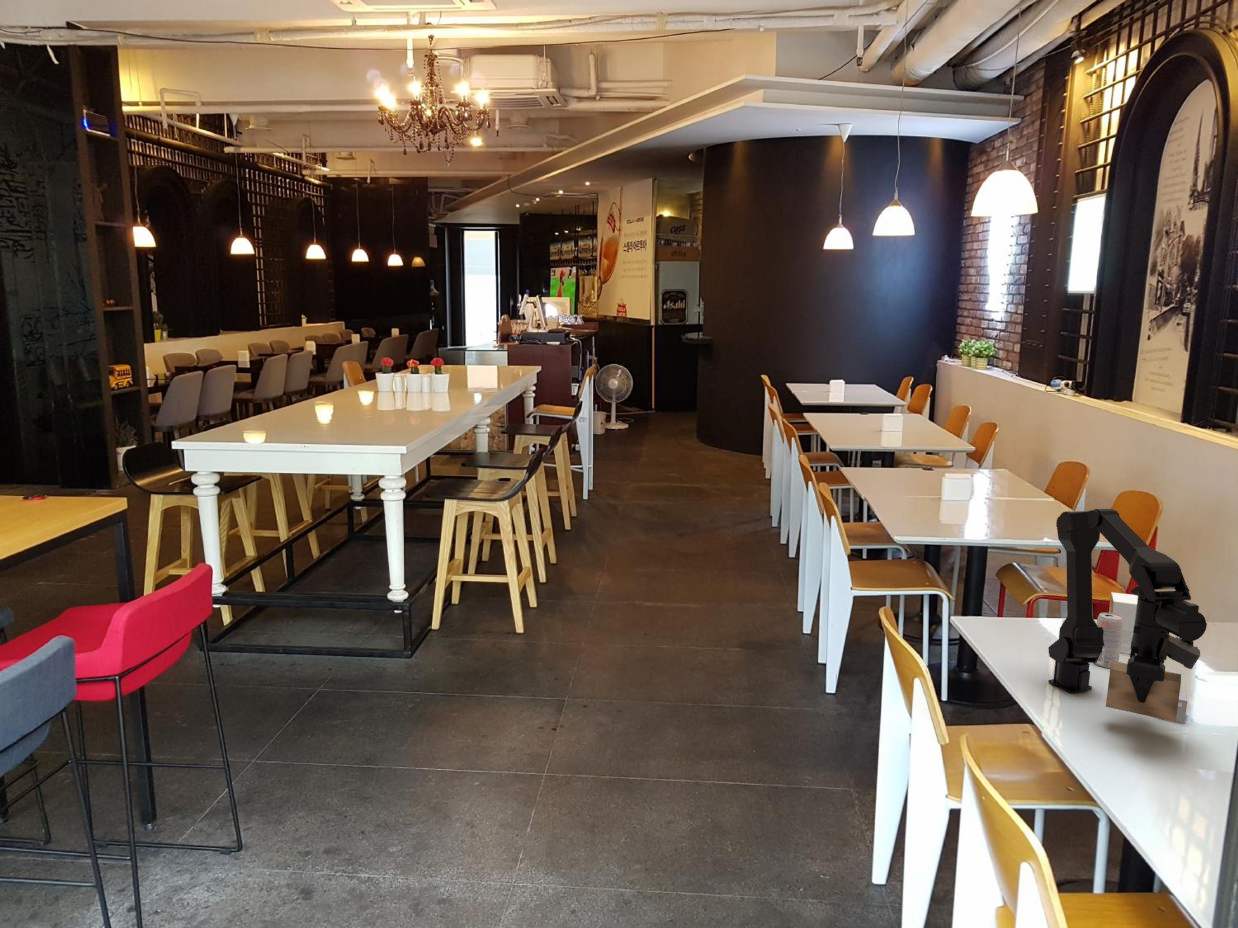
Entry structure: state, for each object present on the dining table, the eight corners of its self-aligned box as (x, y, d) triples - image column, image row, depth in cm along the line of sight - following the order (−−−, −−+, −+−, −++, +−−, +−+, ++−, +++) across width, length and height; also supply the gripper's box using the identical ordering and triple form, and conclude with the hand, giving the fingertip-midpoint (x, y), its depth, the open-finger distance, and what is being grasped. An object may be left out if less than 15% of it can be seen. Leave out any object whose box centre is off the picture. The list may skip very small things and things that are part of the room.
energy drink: (1112, 660, 218) (1117, 612, 215) (1122, 669, 212) (1128, 620, 210) (1089, 659, 218) (1094, 611, 216) (1098, 667, 213) (1104, 619, 211)
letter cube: (1156, 708, 192) (1159, 686, 191) (1184, 714, 189) (1187, 692, 188) (1156, 718, 187) (1159, 695, 186) (1184, 724, 185) (1187, 701, 184)
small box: (1105, 640, 231) (1110, 591, 228) (1133, 644, 228) (1139, 595, 226) (1107, 651, 223) (1113, 600, 221) (1136, 655, 221) (1143, 604, 219)
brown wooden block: (1105, 706, 181) (1110, 668, 180) (1107, 697, 185) (1111, 660, 184) (1175, 721, 175) (1181, 682, 173) (1175, 712, 179) (1181, 674, 178)
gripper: (1201, 645, 165) (1190, 725, 168) (1199, 616, 180) (1189, 690, 183) (1131, 633, 171) (1121, 710, 173) (1135, 606, 186) (1127, 677, 189)
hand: (1142, 697), depth 180 cm, fingers closed on brown wooden block, 5 cm apart
